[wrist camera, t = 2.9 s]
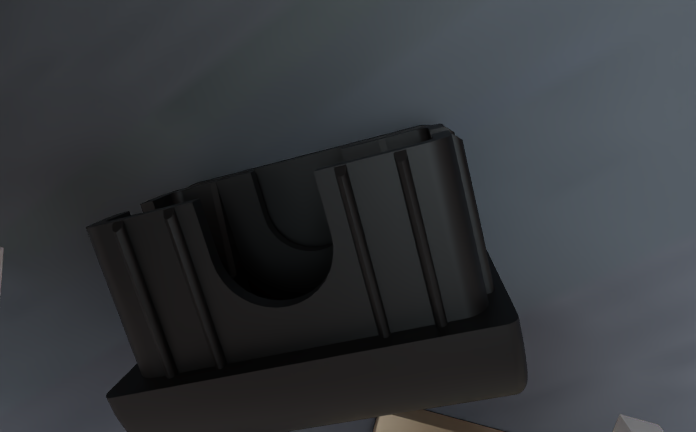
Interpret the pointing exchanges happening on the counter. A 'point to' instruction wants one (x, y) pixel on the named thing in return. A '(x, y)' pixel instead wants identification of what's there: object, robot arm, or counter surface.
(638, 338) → the counter surface
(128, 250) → the end cap
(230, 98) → the counter surface
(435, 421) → the picture frame
